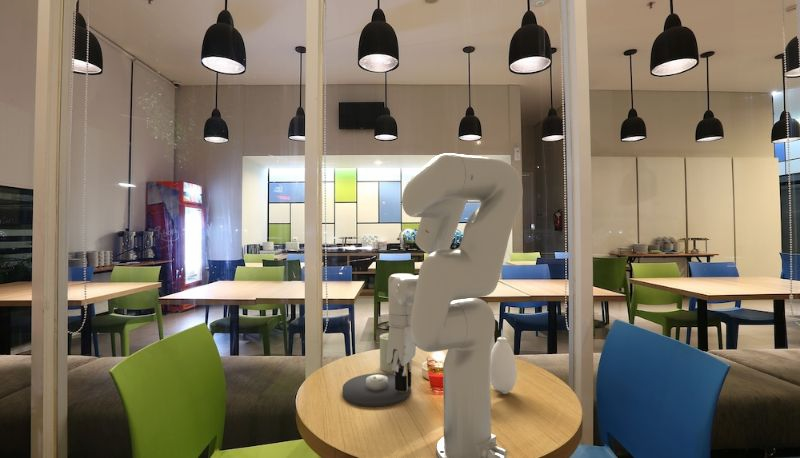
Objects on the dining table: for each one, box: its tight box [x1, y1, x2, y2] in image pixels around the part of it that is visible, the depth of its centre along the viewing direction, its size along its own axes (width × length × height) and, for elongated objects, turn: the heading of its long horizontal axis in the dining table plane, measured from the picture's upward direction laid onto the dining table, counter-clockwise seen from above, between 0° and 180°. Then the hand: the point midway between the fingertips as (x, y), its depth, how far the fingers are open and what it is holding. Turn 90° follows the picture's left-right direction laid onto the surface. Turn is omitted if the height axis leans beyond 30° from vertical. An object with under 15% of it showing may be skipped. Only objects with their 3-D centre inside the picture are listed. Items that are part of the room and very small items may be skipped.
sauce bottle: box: [490, 329, 518, 395], centre depth 105 cm, size 8×8×18 cm
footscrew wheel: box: [342, 364, 412, 408], centre depth 103 cm, size 19×19×8 cm
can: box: [379, 332, 401, 373], centre depth 122 cm, size 9×9×12 cm
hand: (403, 387), depth 100 cm, fingers closed on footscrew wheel, 2 cm apart
